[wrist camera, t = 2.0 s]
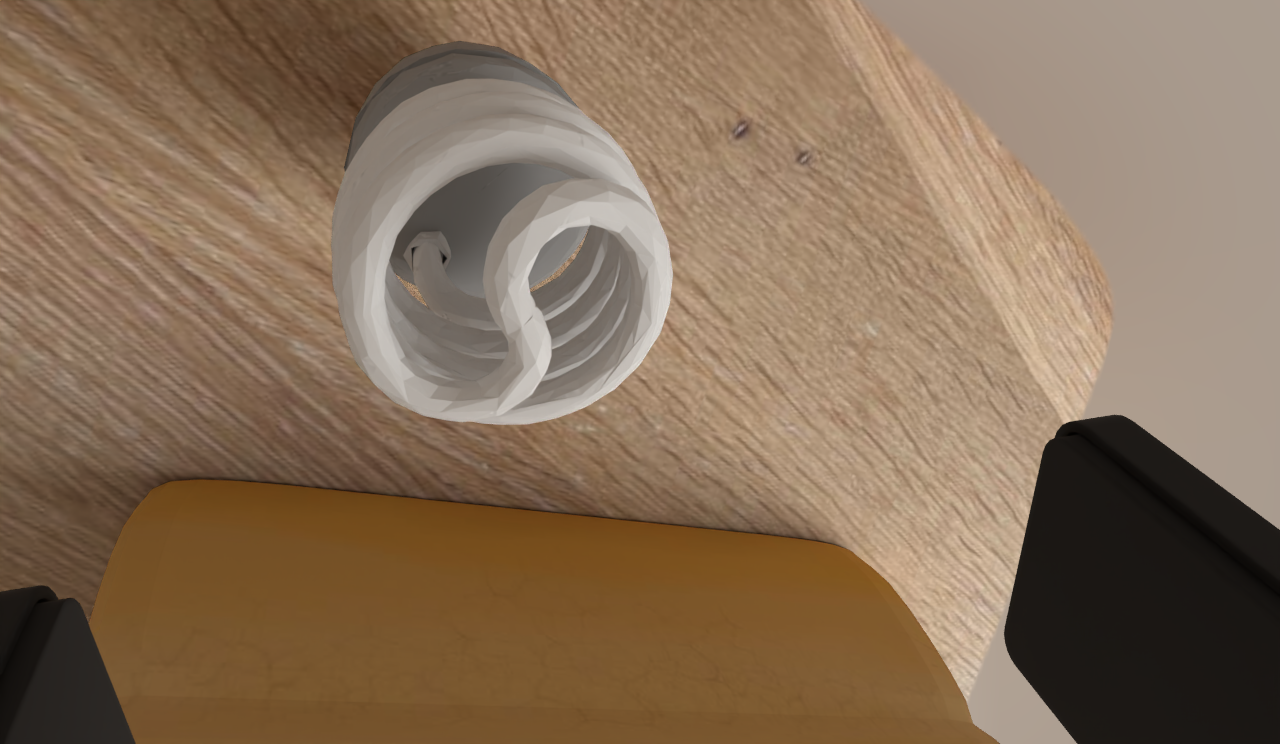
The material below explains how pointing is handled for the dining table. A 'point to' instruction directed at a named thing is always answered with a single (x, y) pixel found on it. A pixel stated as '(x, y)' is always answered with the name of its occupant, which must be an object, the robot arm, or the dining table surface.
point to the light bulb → (492, 243)
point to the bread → (499, 628)
